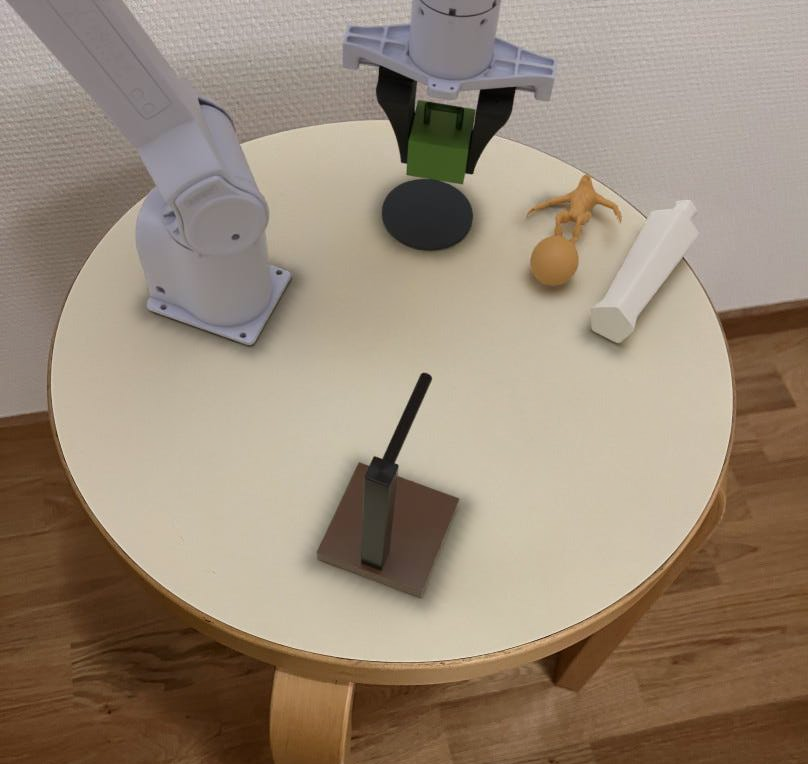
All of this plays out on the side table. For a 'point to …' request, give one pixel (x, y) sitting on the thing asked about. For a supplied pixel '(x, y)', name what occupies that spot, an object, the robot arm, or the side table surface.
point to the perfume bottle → (645, 269)
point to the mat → (427, 214)
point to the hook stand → (390, 517)
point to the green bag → (440, 142)
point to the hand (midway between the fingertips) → (438, 159)
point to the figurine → (558, 254)
